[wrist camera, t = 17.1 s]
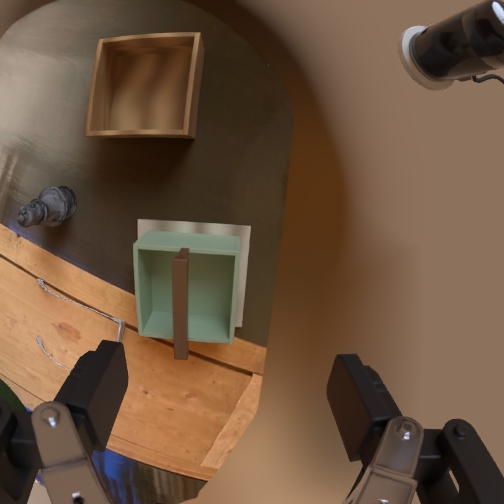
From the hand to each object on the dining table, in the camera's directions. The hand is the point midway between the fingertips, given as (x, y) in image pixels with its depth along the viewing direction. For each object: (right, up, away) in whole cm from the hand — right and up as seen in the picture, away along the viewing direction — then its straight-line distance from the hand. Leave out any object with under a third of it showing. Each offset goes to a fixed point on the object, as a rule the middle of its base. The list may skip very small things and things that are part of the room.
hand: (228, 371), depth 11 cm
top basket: (-8, +1, +33) cm, 34 cm away
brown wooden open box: (-13, +26, +25) cm, 39 cm away
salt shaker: (-28, +12, +29) cm, 42 cm away
